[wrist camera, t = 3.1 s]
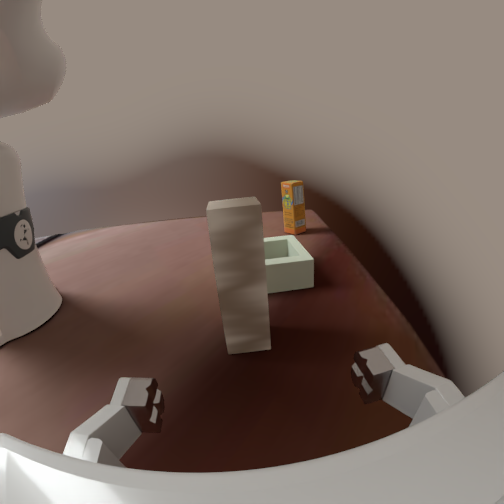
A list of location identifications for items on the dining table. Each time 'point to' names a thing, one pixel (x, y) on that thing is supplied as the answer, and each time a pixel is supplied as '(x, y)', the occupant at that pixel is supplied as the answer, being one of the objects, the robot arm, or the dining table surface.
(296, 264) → the block
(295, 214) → the supplement box
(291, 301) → the dining table surface
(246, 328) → the peg
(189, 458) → the dining table surface
